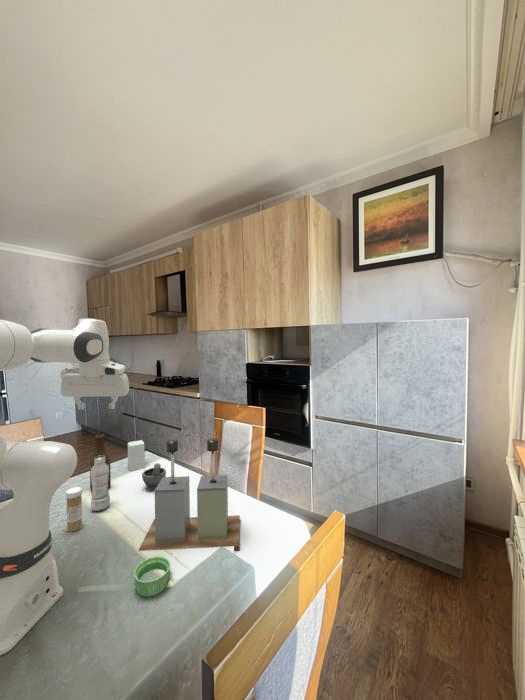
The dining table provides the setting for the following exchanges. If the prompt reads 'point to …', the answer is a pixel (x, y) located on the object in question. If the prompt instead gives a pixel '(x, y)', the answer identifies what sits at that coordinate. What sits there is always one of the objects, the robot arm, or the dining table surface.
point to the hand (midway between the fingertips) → (96, 408)
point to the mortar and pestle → (153, 476)
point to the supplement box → (136, 455)
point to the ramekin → (155, 585)
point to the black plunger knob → (212, 455)
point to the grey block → (172, 509)
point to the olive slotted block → (212, 507)
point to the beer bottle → (99, 451)
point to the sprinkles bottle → (74, 509)
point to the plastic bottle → (99, 484)
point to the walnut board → (194, 537)
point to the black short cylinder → (172, 455)
